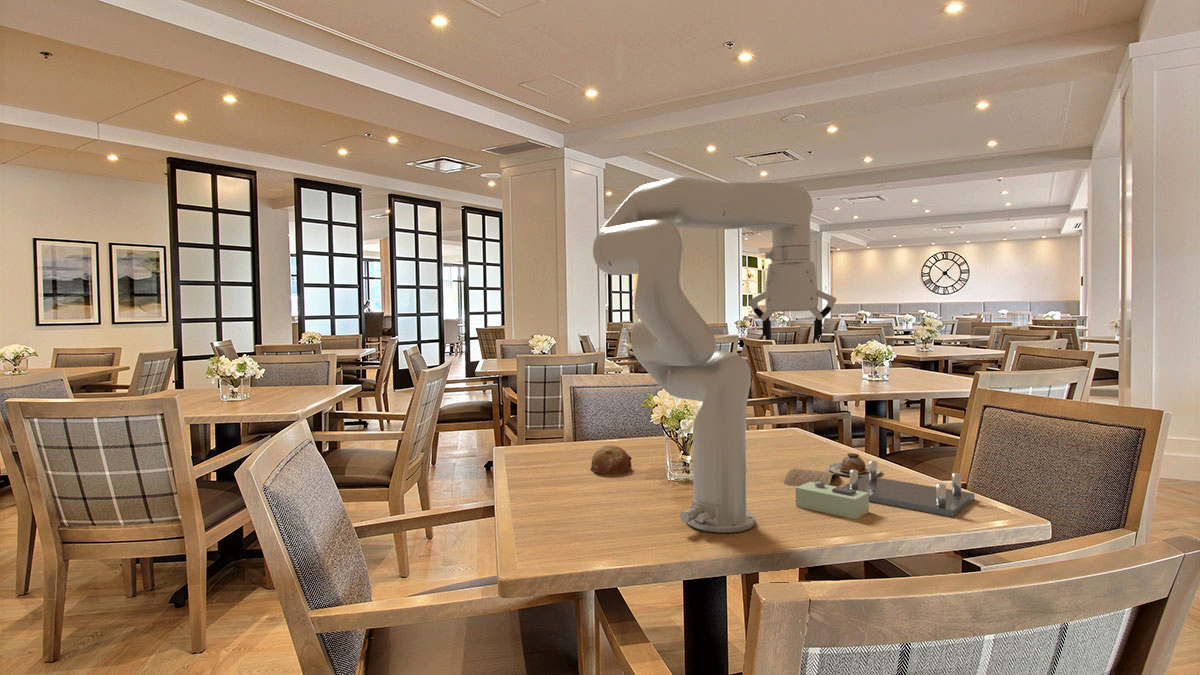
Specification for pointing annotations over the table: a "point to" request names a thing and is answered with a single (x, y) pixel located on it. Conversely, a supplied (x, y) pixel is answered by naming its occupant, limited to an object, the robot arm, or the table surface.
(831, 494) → the block
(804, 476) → the curved roof tile
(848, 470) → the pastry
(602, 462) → the bread roll
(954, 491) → the chassis
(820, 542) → the table surface
